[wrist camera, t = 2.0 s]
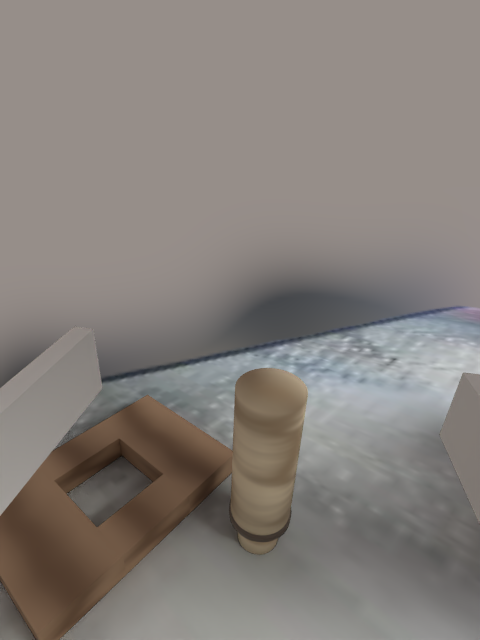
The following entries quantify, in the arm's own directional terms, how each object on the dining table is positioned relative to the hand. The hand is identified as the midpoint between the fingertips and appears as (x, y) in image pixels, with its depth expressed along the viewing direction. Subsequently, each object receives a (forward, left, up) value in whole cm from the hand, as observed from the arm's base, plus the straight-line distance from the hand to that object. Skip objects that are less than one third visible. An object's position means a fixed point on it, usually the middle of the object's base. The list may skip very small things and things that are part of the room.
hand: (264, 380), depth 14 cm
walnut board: (-2, -18, -24) cm, 30 cm away
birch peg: (-8, -5, -24) cm, 26 cm away
